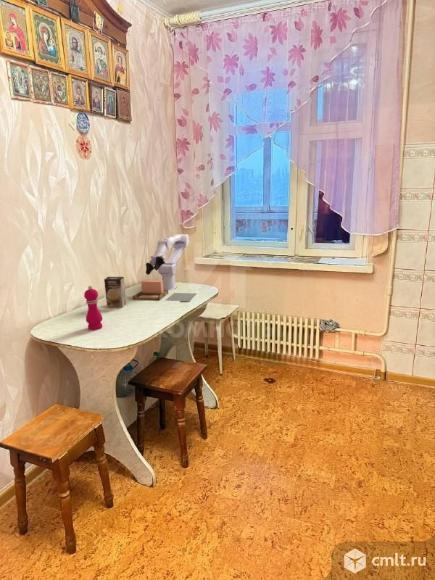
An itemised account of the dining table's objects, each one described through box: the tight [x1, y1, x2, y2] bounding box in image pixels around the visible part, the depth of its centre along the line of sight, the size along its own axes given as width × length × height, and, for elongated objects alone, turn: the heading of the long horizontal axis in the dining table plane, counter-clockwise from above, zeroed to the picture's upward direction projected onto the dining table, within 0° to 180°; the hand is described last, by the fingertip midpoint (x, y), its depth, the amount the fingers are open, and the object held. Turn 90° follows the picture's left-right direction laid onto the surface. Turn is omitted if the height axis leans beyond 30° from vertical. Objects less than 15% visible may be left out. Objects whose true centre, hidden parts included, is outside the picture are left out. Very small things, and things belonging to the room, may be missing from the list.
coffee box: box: [104, 276, 127, 309], centre depth 212 cm, size 9×6×16 cm
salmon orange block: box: [140, 279, 164, 293], centre depth 231 cm, size 4×12×9 cm, turn 78°
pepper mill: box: [83, 285, 103, 331], centre depth 180 cm, size 7×7×20 cm
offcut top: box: [138, 295, 158, 298], centre depth 225 cm, size 4×10×1 cm, turn 78°
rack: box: [132, 290, 169, 301], centre depth 229 cm, size 14×16×2 cm
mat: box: [165, 292, 198, 303], centre depth 226 cm, size 16×14×1 cm
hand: (151, 271), depth 223 cm, fingers open, 7 cm apart
